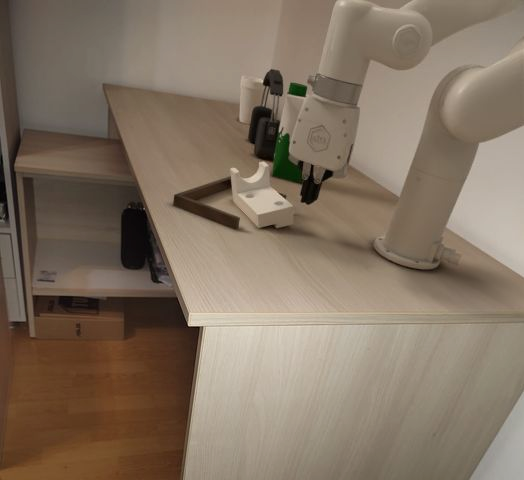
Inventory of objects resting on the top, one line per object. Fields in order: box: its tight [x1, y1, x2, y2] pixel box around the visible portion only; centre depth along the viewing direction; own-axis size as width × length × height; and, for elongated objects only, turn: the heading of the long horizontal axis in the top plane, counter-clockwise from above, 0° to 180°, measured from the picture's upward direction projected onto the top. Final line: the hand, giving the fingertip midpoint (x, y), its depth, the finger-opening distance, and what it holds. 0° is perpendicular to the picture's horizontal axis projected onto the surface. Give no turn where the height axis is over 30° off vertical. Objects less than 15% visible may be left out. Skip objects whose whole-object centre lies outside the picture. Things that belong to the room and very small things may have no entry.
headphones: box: [247, 68, 284, 160], centre depth 132 cm, size 22×6×20 cm, turn 8°
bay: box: [172, 175, 287, 230], centre depth 96 cm, size 14×21×2 cm, turn 153°
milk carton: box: [271, 82, 308, 184], centre depth 115 cm, size 9×9×20 cm
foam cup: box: [238, 75, 269, 125], centre depth 162 cm, size 10×9×13 cm
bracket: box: [229, 161, 294, 229], centre depth 93 cm, size 13×7×8 cm, turn 24°
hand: (307, 201), depth 89 cm, fingers closed
